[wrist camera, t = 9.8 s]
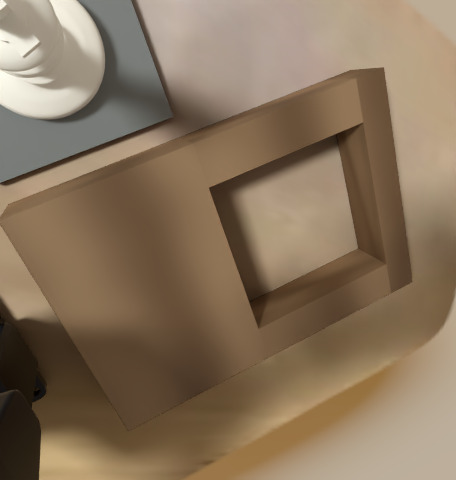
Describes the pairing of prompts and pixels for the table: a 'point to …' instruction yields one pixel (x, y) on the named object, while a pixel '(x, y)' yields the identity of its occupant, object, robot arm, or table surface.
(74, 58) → the chess piece
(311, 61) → the table surface
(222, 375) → the brown slab with hole
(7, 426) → the robot arm
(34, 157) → the rubber mat
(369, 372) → the table surface
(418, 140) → the table surface
